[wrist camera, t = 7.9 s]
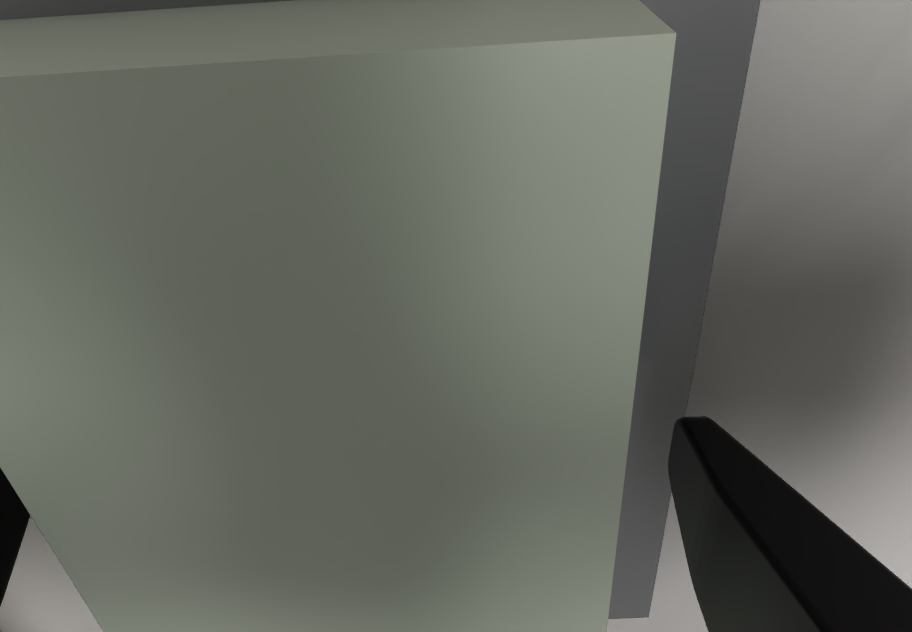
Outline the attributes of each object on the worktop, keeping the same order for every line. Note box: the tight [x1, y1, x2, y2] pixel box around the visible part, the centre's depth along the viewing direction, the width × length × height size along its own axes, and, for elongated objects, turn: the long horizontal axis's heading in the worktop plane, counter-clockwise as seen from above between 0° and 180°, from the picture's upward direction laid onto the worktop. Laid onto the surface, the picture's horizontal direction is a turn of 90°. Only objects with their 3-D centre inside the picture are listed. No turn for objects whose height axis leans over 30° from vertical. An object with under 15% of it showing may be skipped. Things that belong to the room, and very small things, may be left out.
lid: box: [0, 0, 676, 632], centre depth 9 cm, size 11×7×2 cm, turn 3°
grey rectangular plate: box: [0, 0, 760, 619], centre depth 11 cm, size 12×10×1 cm
